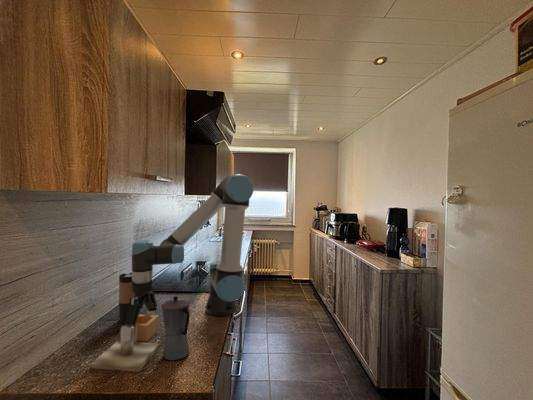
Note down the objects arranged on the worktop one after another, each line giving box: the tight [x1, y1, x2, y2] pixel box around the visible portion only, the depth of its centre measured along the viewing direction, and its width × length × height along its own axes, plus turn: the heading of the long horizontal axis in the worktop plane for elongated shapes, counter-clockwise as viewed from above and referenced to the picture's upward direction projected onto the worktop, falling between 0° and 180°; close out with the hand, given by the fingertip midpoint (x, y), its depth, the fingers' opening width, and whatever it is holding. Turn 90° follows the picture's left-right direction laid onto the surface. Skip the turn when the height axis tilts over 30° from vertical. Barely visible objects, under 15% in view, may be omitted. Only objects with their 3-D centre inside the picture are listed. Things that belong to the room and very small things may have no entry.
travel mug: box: [118, 272, 135, 324], centre depth 124 cm, size 8×8×20 cm
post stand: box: [90, 324, 161, 373], centre depth 96 cm, size 14×16×10 cm
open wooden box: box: [136, 313, 160, 342], centre depth 111 cm, size 9×9×6 cm
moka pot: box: [161, 296, 190, 361], centre depth 98 cm, size 10×15×20 cm, turn 51°
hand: (142, 334), depth 111 cm, fingers open, 12 cm apart
